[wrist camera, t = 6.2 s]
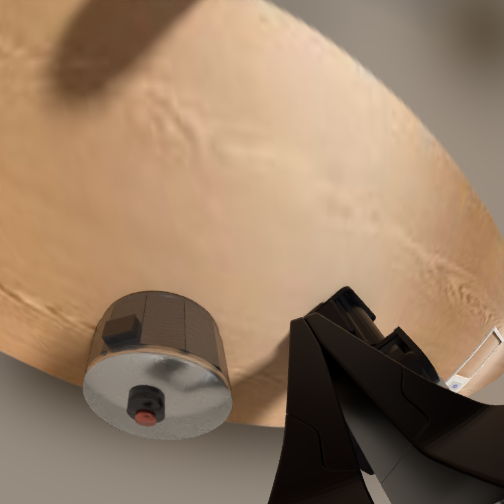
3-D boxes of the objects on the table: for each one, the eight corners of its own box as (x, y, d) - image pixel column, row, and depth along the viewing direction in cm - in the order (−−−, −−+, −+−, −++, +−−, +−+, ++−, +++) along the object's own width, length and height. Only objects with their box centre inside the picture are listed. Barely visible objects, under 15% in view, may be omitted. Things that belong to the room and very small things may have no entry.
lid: (57, 359, 16) (45, 393, 13) (200, 326, 17) (204, 366, 14) (131, 436, 21) (130, 464, 19) (246, 416, 22) (253, 447, 19)
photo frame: (435, 393, 45) (495, 327, 39) (433, 389, 46) (492, 324, 40) (454, 395, 51) (504, 340, 45) (452, 392, 52) (502, 338, 46)
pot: (244, 334, 26) (258, 386, 21) (172, 390, 28) (174, 437, 23) (139, 262, 21) (126, 313, 15) (77, 339, 23) (62, 388, 18)
